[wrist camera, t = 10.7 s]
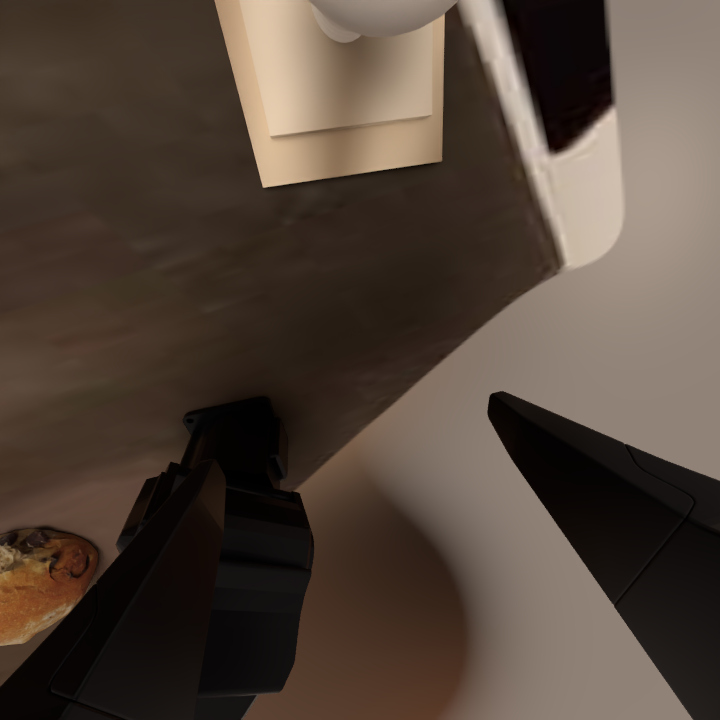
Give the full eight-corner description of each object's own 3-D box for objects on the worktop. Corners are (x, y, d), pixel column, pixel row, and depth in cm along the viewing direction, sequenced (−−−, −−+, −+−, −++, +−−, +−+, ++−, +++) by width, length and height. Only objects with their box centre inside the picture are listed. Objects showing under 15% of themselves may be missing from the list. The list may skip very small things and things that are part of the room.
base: (264, 187, 17) (261, 188, 15) (162, -213, 10) (136, -289, 9) (434, 162, 18) (449, 160, 16) (437, -217, 11) (463, -287, 10)
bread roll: (-9, 524, 29) (-99, 633, 24) (-14, 513, 23) (-136, 656, 18) (103, 546, 34) (48, 642, 29) (124, 543, 28) (58, 663, 23)
